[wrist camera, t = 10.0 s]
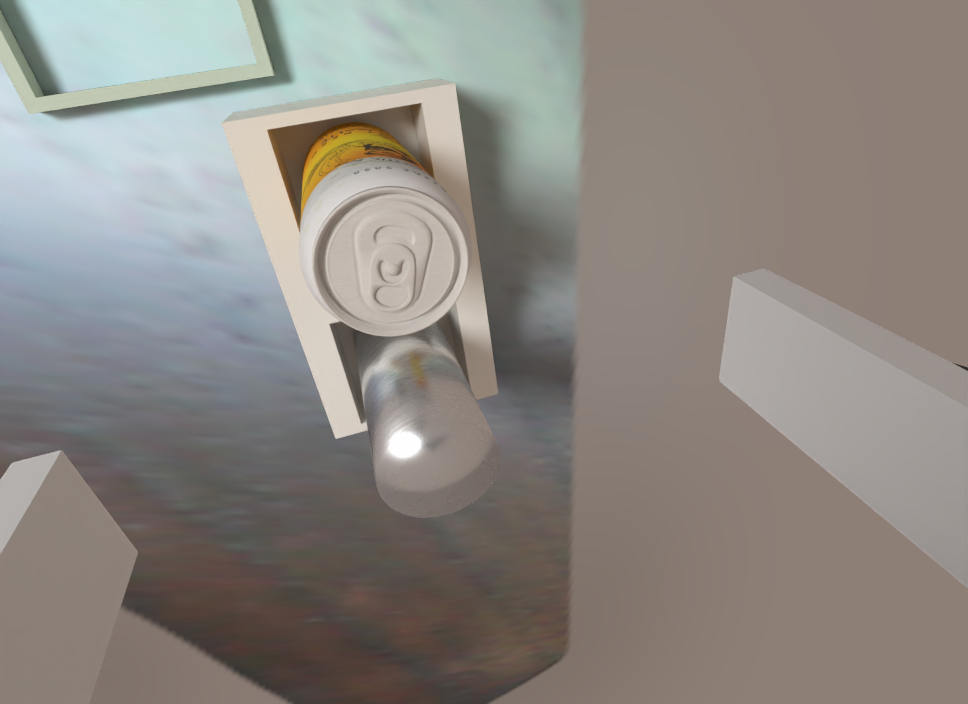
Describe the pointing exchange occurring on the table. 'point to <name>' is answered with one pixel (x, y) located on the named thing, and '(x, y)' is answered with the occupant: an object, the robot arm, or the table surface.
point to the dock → (277, 207)
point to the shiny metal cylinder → (423, 424)
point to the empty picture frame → (7, 51)
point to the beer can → (379, 234)
